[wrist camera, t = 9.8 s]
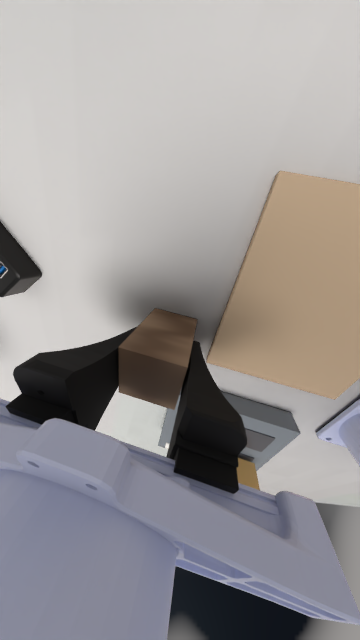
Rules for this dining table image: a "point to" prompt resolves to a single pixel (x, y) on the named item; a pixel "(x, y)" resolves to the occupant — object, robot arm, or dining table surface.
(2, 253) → the multiport hub
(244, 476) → the switch tab
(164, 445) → the switch panel
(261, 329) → the mat
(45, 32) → the dining table surface
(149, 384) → the block
